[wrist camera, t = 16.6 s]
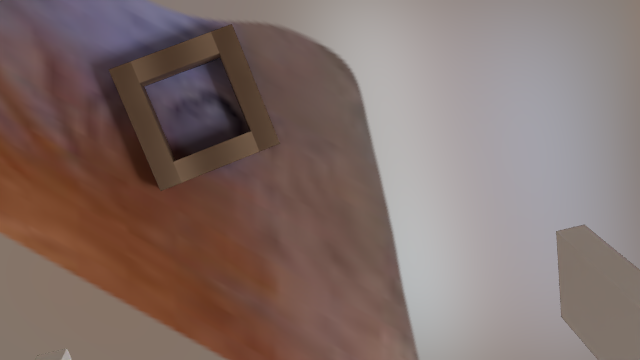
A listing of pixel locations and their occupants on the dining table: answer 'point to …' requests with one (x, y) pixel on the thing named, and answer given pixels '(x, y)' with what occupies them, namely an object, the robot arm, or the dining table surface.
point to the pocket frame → (178, 60)
